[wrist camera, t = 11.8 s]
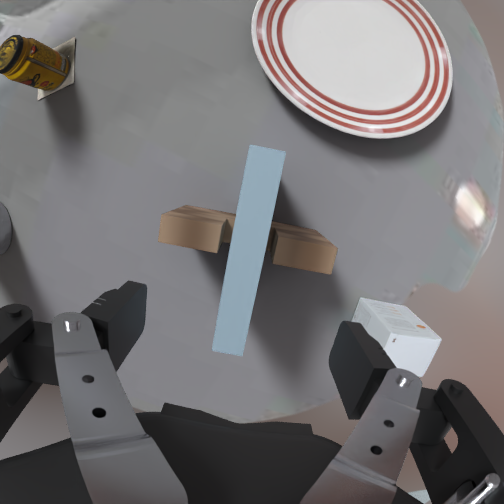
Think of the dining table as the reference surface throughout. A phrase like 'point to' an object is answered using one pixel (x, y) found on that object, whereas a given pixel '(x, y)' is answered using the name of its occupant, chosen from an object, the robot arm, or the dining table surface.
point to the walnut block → (220, 230)
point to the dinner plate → (356, 62)
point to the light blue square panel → (247, 247)
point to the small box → (398, 334)
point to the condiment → (38, 64)
